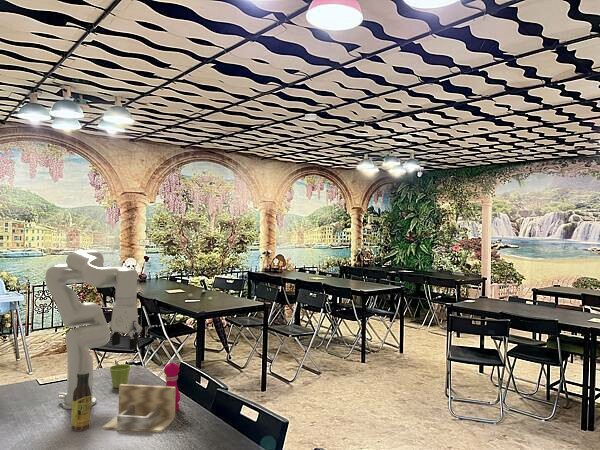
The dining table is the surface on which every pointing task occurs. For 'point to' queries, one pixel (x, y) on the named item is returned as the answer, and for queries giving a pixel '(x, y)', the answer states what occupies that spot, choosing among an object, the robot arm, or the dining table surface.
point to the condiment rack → (144, 408)
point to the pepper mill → (172, 379)
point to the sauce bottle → (81, 403)
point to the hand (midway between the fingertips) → (124, 346)
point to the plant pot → (119, 374)
